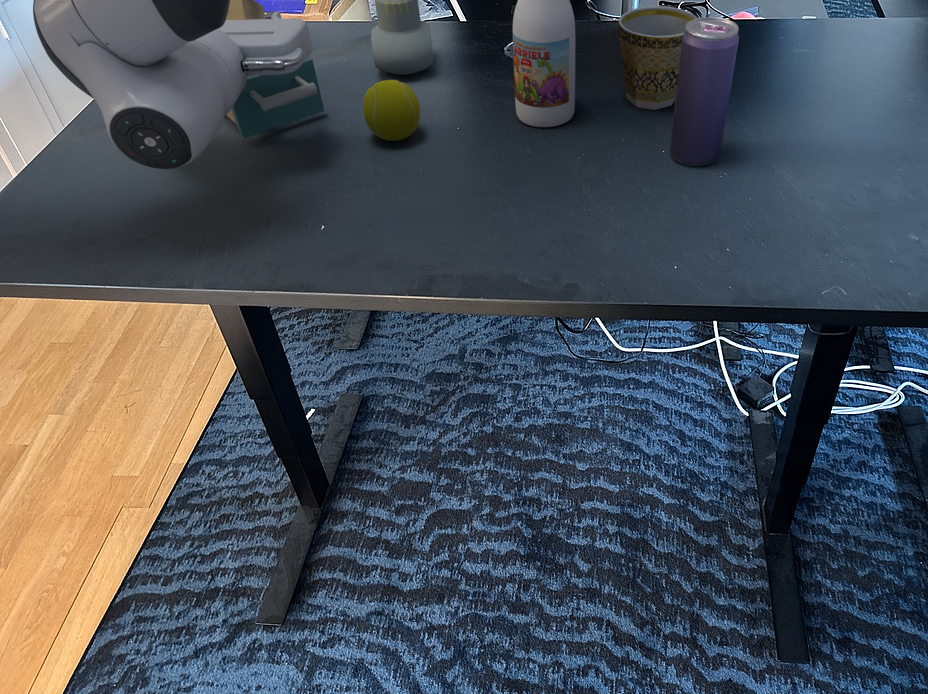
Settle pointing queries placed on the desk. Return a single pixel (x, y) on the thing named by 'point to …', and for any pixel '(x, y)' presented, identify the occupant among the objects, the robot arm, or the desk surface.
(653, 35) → the ceramic cup
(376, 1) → the air freshener
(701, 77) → the beverage can
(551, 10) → the milk bottle
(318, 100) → the drawer
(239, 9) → the wooden block
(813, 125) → the desk surface
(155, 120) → the robot arm
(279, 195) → the desk surface
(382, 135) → the tennis ball
